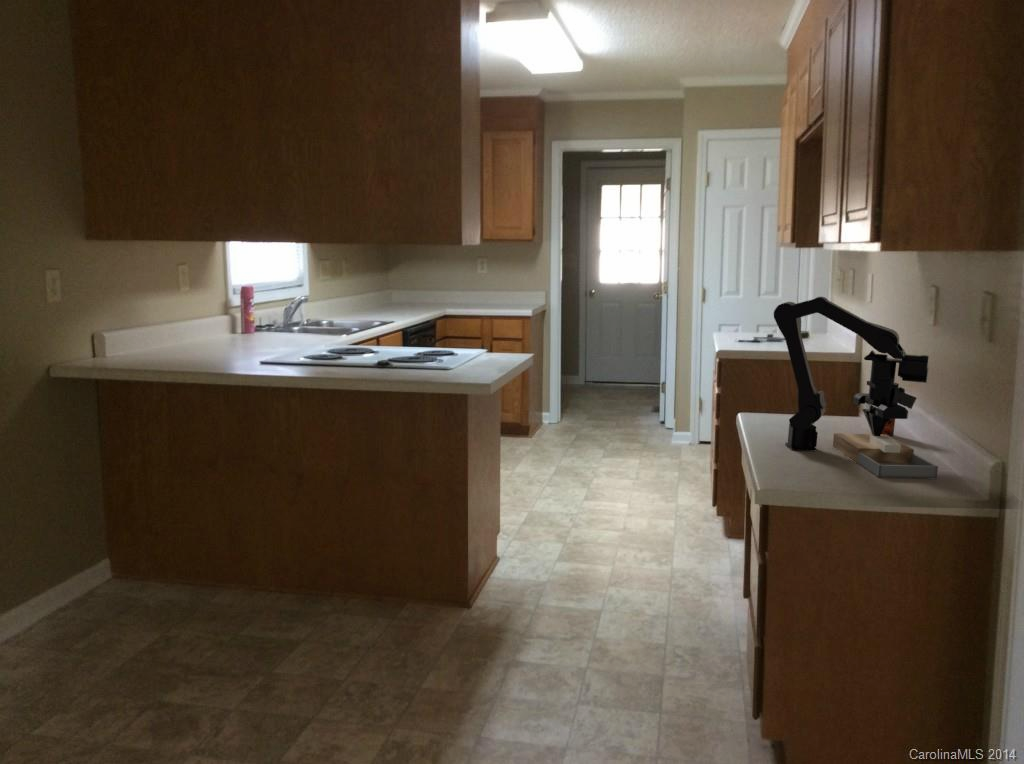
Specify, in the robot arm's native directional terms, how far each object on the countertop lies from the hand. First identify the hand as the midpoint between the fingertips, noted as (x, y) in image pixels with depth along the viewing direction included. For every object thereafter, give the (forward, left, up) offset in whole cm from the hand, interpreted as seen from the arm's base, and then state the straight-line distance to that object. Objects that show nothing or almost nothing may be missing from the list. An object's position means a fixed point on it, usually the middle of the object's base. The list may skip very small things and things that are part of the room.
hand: (876, 438), depth 225 cm
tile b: (0, -7, -1) cm, 7 cm away
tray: (0, -12, -5) cm, 13 cm away
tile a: (0, -3, -1) cm, 3 cm away
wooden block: (0, +2, -5) cm, 5 cm away
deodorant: (+14, +27, -5) cm, 31 cm away
